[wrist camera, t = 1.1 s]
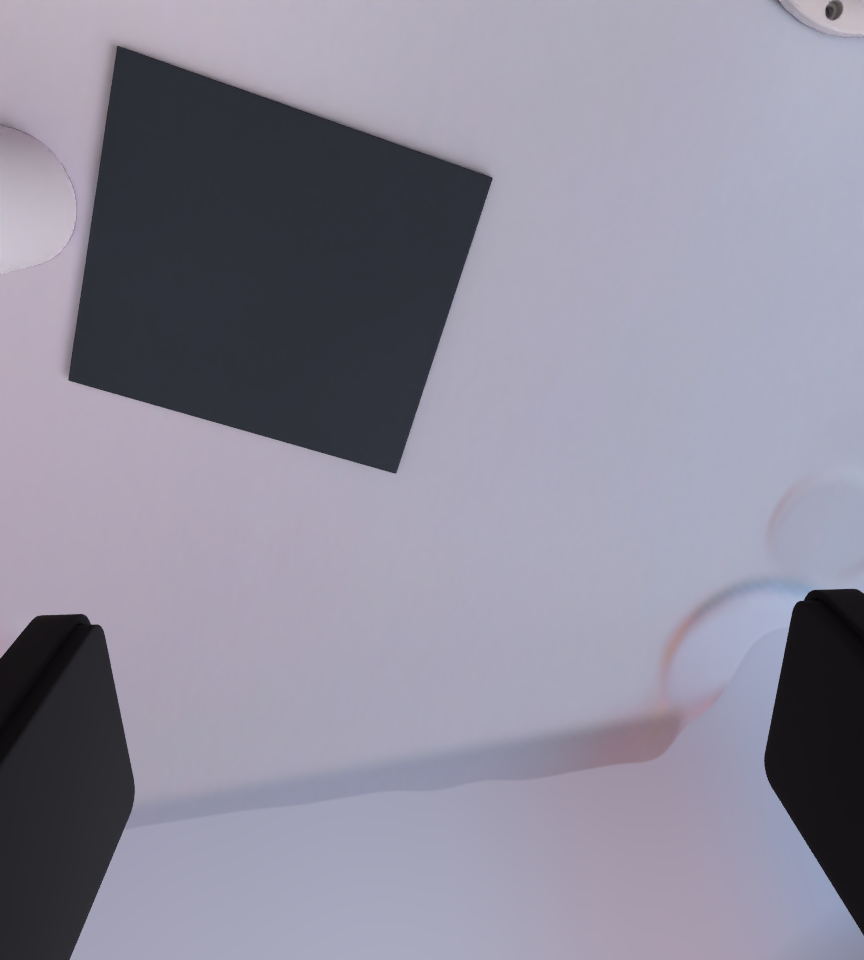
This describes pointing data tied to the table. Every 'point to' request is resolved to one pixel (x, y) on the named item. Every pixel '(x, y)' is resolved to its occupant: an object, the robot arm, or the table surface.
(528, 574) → the table surface
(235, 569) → the table surface
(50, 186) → the cylindrical container
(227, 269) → the desk mat
